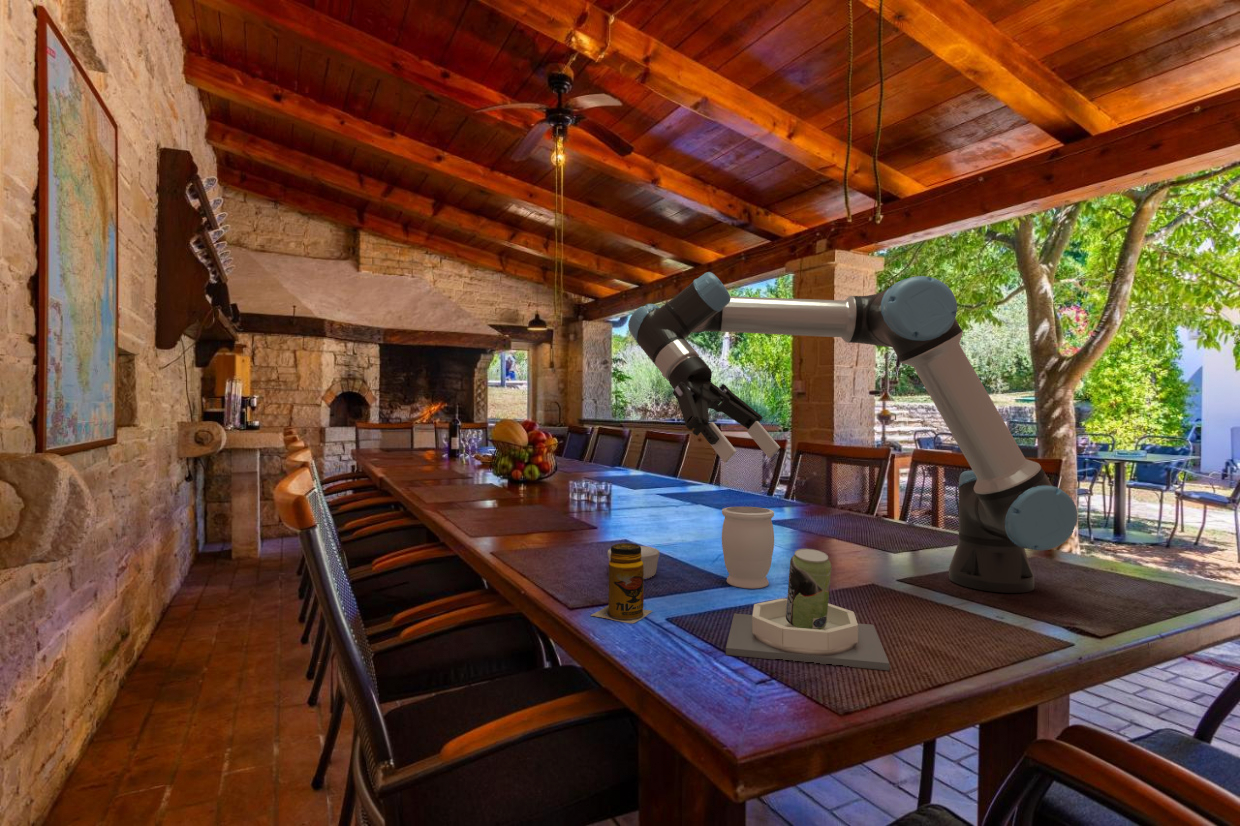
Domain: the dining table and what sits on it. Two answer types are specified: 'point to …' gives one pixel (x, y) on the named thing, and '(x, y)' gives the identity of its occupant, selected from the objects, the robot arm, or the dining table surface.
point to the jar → (747, 545)
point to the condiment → (625, 585)
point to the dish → (804, 630)
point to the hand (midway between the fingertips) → (753, 454)
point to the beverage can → (808, 589)
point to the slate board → (860, 656)
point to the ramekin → (647, 560)
